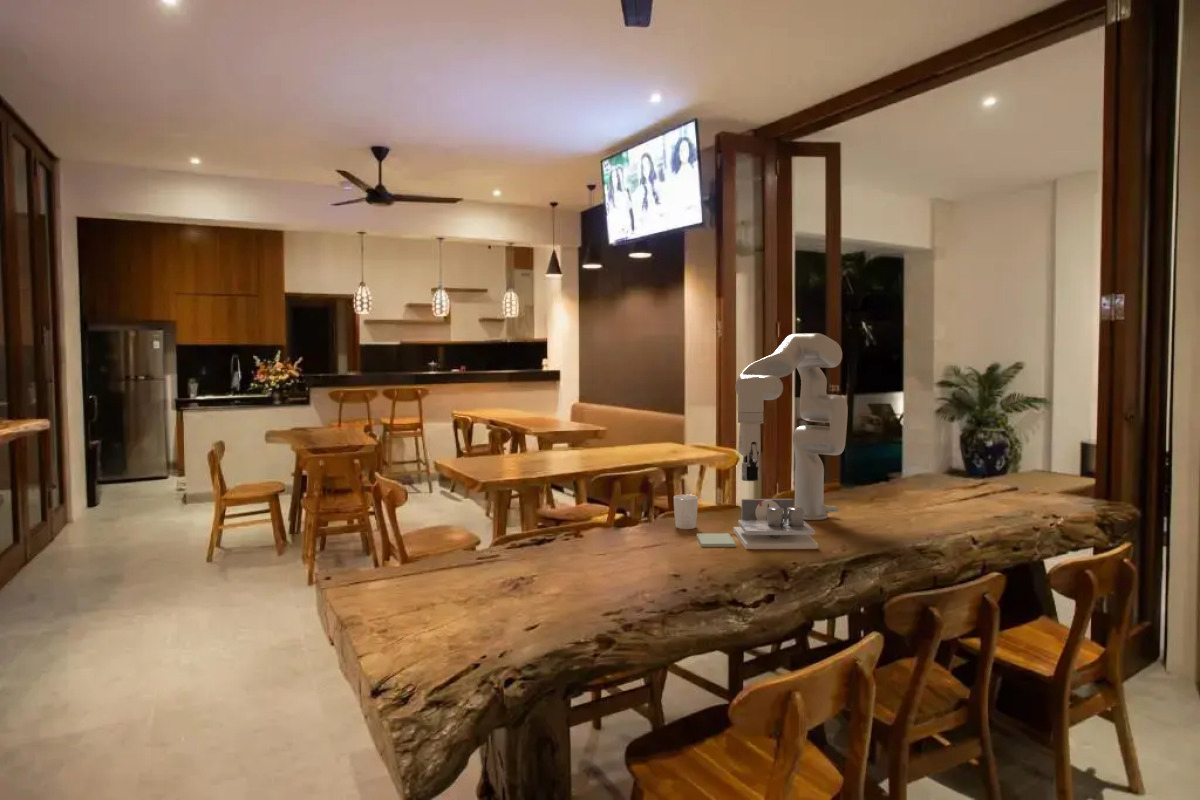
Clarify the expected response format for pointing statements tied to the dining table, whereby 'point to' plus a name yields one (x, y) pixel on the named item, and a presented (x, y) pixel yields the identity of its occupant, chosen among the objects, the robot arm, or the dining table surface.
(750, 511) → the scale housing
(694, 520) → the white cup
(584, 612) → the dining table surface
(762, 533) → the scale pan
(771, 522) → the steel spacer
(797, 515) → the steel spacer
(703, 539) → the green pad
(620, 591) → the dining table surface
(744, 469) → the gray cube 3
